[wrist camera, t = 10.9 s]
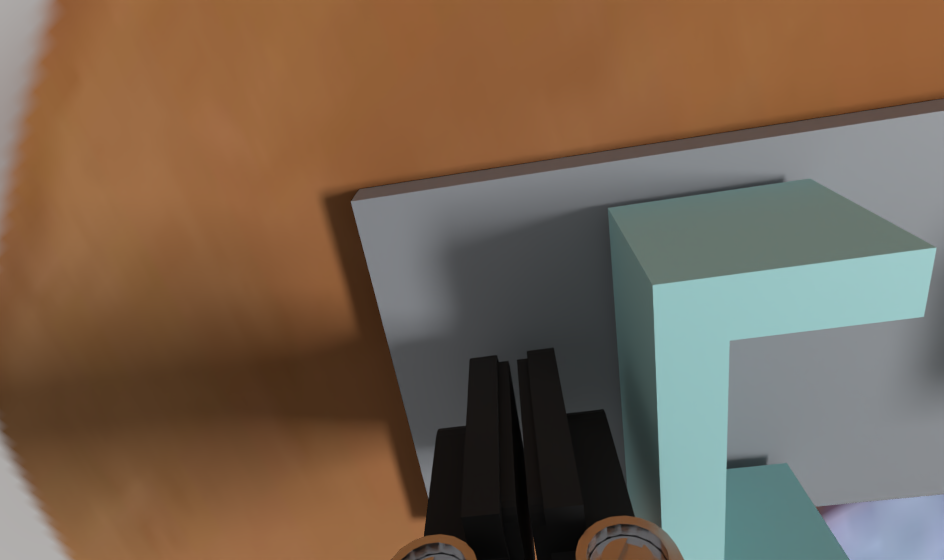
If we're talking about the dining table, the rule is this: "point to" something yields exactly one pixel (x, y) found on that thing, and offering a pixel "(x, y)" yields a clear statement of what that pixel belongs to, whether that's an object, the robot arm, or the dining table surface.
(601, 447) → the robot arm
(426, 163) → the dining table surface
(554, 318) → the rail
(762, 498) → the cap
